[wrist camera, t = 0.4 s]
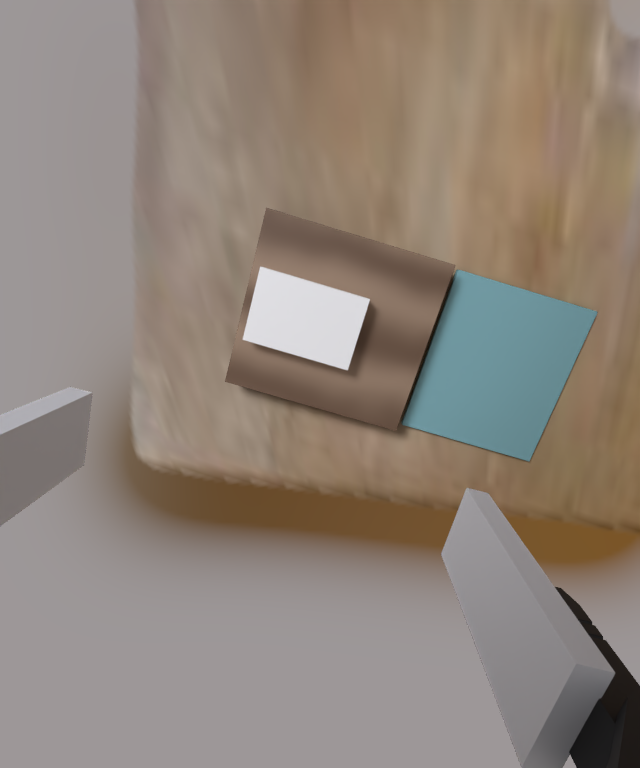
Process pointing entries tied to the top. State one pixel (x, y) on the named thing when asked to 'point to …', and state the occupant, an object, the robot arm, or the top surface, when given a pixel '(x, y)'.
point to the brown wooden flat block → (379, 328)
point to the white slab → (305, 318)
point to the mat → (496, 365)
